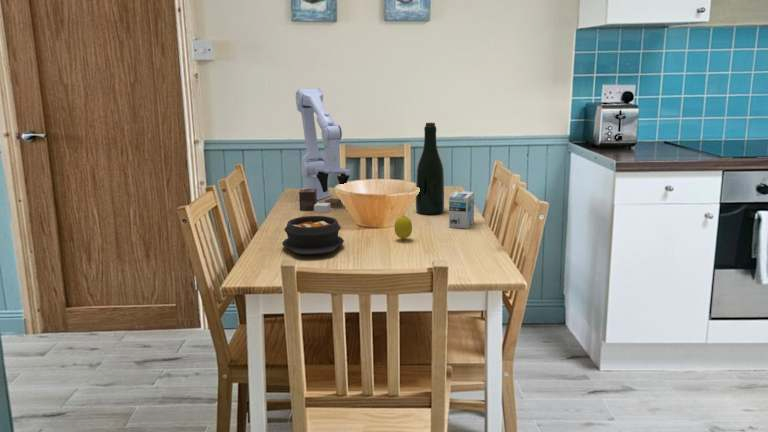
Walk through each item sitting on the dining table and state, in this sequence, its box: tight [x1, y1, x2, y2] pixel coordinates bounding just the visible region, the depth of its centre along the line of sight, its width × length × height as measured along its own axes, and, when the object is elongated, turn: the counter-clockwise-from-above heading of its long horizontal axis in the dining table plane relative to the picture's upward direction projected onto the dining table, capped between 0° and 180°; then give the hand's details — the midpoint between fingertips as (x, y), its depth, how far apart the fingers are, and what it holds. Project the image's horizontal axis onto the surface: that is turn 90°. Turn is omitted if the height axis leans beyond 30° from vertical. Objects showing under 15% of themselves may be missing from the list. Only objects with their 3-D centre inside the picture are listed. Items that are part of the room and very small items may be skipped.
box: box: [298, 188, 318, 212], centre depth 249 cm, size 6×6×7 cm
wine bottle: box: [415, 122, 445, 216], centre depth 238 cm, size 10×10×33 cm
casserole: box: [281, 215, 345, 256], centre depth 198 cm, size 25×19×8 cm
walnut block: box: [324, 197, 344, 210], centre depth 252 cm, size 5×5×3 cm
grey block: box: [313, 202, 332, 214], centre depth 245 cm, size 5×5×3 cm
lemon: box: [394, 214, 413, 241], centre depth 205 cm, size 6×6×8 cm
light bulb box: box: [448, 190, 475, 230], centre depth 222 cm, size 11×7×11 cm, turn 161°
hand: (333, 192), depth 251 cm, fingers open, 7 cm apart
